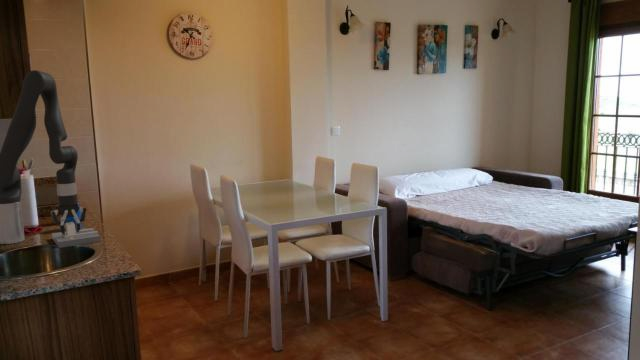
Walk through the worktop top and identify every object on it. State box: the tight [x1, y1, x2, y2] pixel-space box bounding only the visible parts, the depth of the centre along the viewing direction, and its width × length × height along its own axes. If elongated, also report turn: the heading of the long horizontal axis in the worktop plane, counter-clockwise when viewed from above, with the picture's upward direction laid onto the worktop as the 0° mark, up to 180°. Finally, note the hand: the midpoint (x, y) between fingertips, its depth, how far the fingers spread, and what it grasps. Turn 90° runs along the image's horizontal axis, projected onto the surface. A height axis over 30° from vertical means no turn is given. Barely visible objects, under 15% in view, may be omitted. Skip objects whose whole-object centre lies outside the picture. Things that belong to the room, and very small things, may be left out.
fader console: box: [51, 227, 101, 249], centre depth 224 cm, size 16×18×3 cm
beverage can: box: [66, 202, 82, 230], centre depth 244 cm, size 6×6×12 cm
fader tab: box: [64, 222, 75, 235], centre depth 221 cm, size 3×4×5 cm
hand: (70, 232), depth 221 cm, fingers open, 5 cm apart
